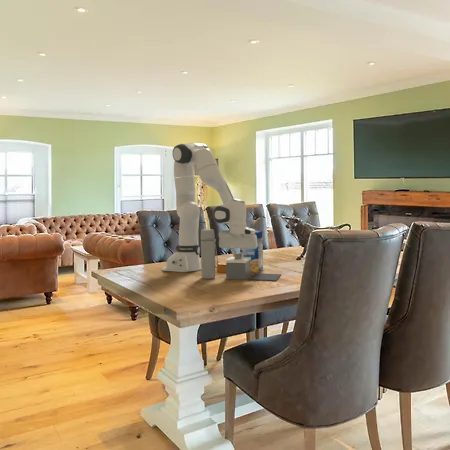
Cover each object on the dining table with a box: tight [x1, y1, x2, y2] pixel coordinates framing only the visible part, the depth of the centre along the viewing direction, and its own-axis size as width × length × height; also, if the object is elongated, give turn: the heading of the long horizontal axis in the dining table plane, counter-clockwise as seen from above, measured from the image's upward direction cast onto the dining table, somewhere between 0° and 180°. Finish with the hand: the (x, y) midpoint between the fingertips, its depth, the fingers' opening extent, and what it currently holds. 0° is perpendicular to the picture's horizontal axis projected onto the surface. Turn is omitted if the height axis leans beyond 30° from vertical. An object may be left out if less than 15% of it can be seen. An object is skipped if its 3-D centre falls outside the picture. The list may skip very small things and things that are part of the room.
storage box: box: [225, 260, 252, 280], centre depth 245 cm, size 10×12×8 cm
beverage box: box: [239, 230, 264, 273], centre depth 261 cm, size 7×11×22 cm, turn 64°
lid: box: [224, 251, 251, 264], centre depth 245 cm, size 11×13×5 cm
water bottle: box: [200, 228, 219, 280], centre depth 243 cm, size 9×8×25 cm
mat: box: [247, 272, 282, 282], centre depth 241 cm, size 14×16×1 cm
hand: (238, 256), depth 245 cm, fingers closed on lid, 2 cm apart
